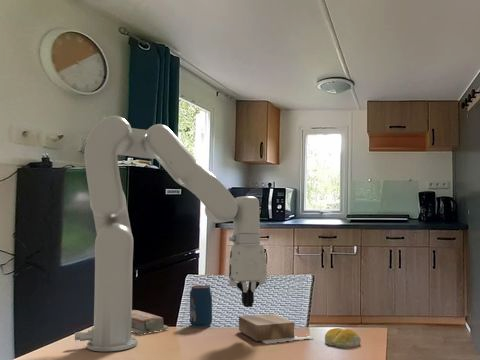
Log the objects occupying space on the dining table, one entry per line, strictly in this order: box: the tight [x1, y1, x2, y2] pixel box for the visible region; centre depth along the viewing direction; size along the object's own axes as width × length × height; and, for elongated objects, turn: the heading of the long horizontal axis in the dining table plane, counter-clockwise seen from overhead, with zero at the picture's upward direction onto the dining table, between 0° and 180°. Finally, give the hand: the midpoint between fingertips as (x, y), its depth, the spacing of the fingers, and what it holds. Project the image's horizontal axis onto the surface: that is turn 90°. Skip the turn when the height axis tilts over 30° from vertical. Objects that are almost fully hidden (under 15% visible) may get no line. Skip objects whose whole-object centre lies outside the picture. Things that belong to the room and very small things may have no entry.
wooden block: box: [238, 313, 295, 342], centre depth 129 cm, size 4×14×11 cm
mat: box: [261, 335, 314, 345], centre depth 130 cm, size 14×18×1 cm
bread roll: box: [324, 327, 362, 349], centre depth 119 cm, size 8×9×4 cm
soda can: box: [189, 285, 213, 329], centre depth 144 cm, size 7×7×12 cm
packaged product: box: [132, 309, 169, 335], centre depth 141 cm, size 18×5×10 cm
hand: (247, 306), depth 128 cm, fingers closed
